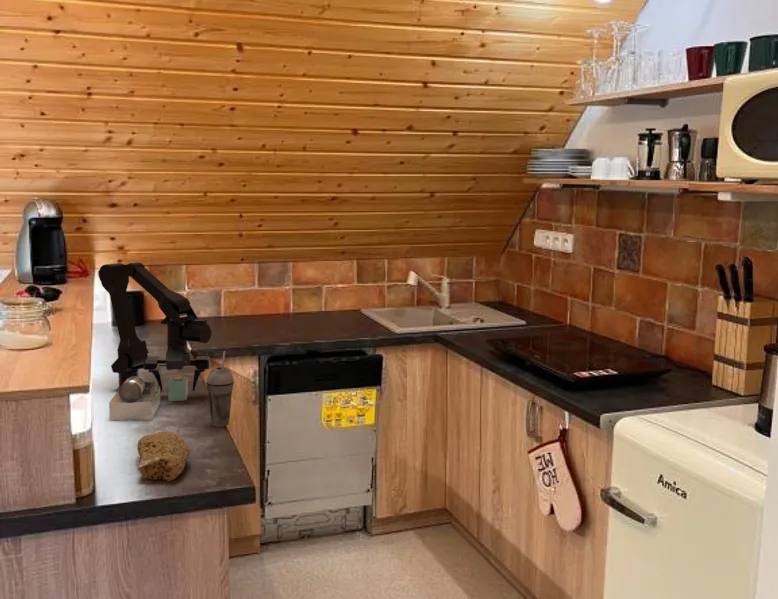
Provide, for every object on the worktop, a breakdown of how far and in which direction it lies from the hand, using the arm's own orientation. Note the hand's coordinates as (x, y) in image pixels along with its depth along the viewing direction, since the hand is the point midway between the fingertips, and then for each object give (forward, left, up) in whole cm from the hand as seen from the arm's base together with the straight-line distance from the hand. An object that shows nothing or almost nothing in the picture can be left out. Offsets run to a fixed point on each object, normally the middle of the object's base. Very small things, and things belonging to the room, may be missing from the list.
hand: (177, 390), depth 228 cm
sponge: (+56, +3, -3) cm, 56 cm away
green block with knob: (0, 0, -2) cm, 2 cm away
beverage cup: (+26, +14, -2) cm, 30 cm away
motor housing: (+13, -10, -2) cm, 17 cm away
